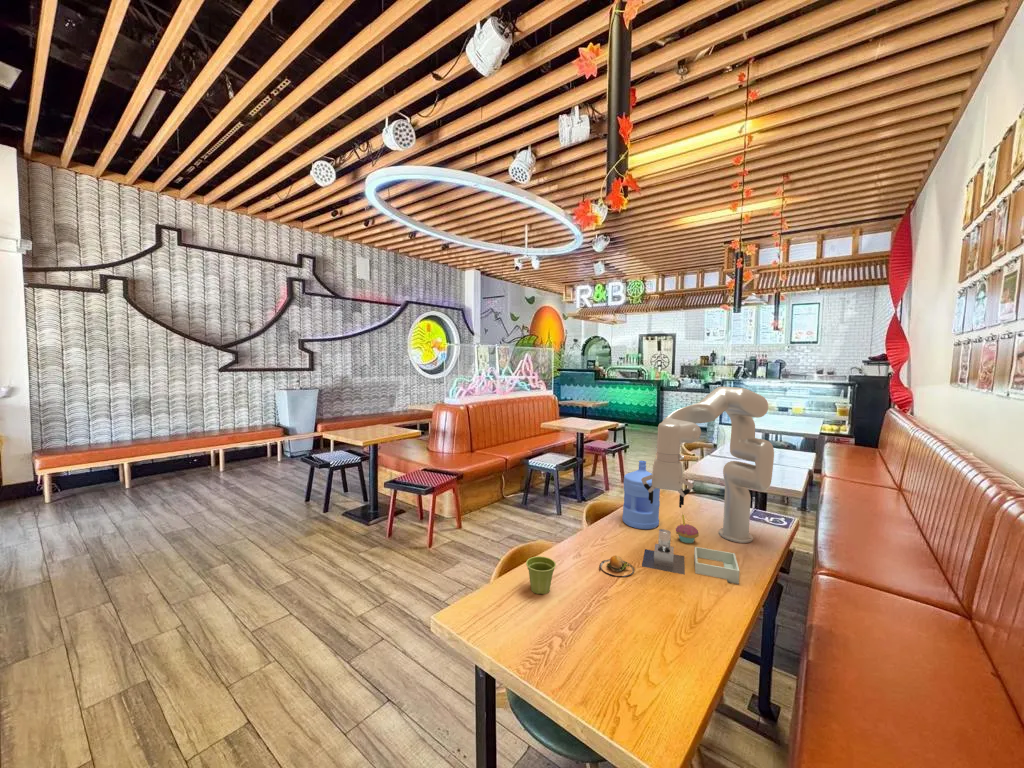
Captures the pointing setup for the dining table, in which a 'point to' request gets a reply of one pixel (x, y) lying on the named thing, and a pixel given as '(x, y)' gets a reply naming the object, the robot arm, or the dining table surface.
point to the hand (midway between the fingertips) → (665, 504)
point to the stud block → (677, 565)
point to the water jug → (640, 500)
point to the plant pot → (540, 573)
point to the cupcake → (686, 532)
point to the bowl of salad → (616, 565)
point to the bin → (726, 572)
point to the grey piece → (664, 549)
